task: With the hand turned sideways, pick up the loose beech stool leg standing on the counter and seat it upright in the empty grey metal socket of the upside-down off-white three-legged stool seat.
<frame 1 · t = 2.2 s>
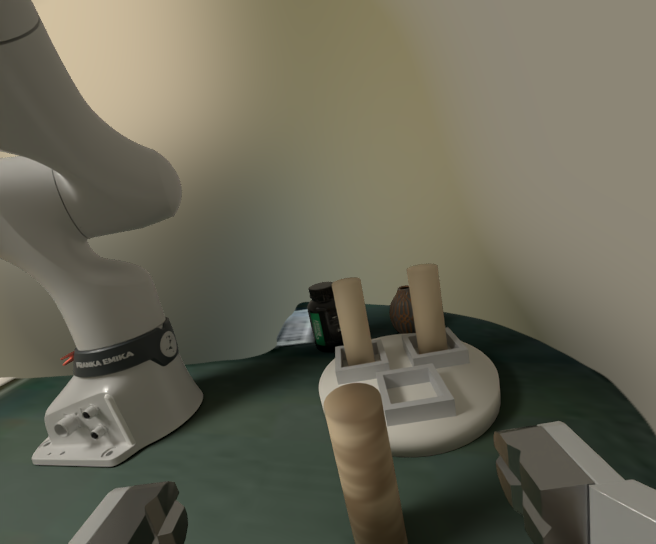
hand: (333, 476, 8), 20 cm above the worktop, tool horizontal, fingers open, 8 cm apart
supplement bottle: (333, 345, 59), on the worktop
stool seat: (404, 387, 42), on the worktop
vase: (411, 332, 58), on the worktop
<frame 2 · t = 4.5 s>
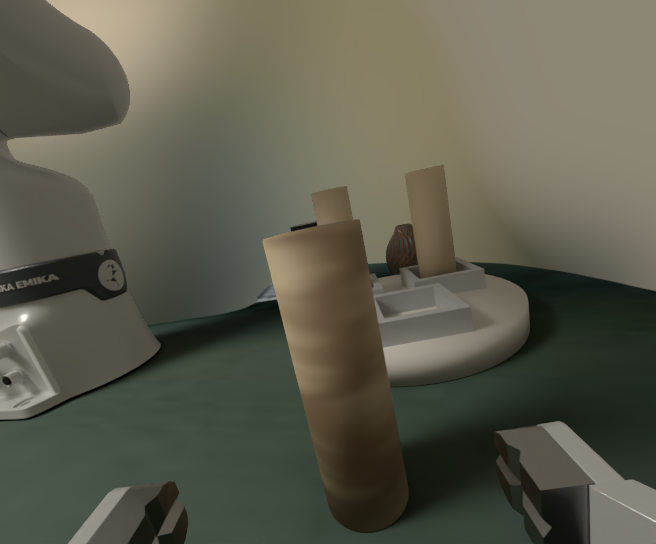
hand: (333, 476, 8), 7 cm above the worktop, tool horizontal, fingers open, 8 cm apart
stool seat: (403, 323, 33), on the worktop
vase: (411, 279, 50), on the worktop
stool leg: (367, 489, 15), on the worktop
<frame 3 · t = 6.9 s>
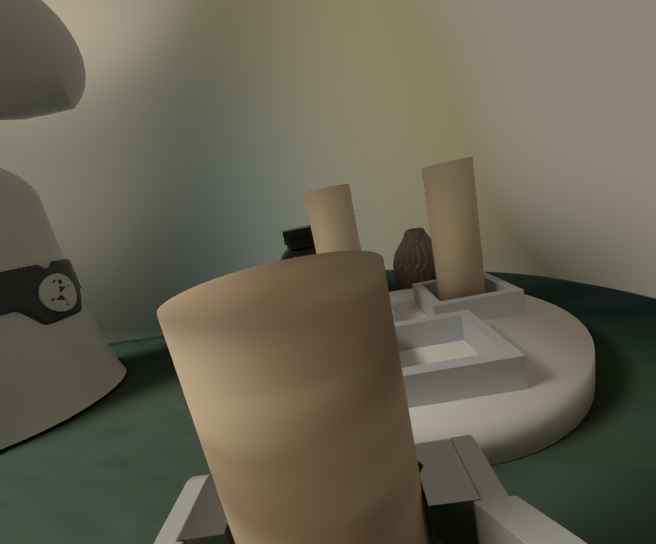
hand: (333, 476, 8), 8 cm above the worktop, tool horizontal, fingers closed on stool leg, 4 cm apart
supplement bottle: (318, 311, 44), on the worktop
stool seat: (419, 355, 27), on the worktop
vase: (422, 292, 43), on the worktop
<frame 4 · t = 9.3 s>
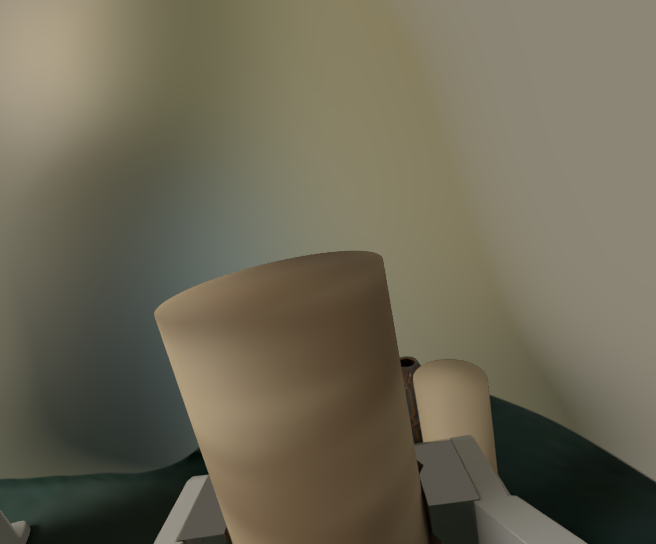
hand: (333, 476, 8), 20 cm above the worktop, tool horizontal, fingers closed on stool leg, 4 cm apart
vase: (417, 433, 34), on the worktop
when the fingers open (11 cm above the worktop, at t = 12.1 s): stool leg stays where it is, resting on stool seat.
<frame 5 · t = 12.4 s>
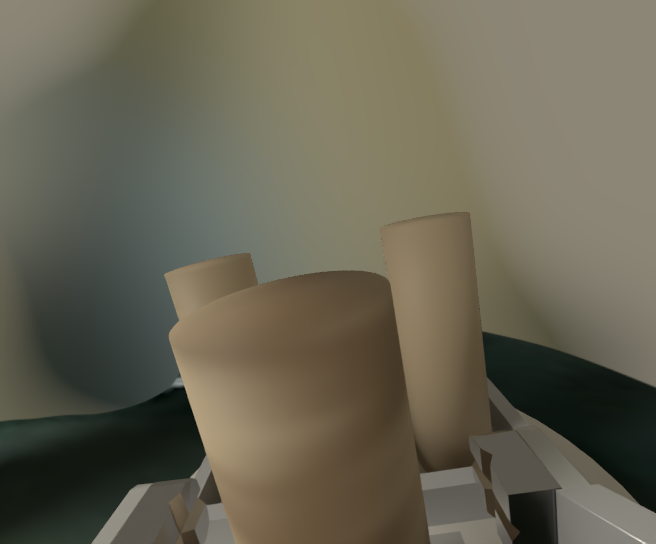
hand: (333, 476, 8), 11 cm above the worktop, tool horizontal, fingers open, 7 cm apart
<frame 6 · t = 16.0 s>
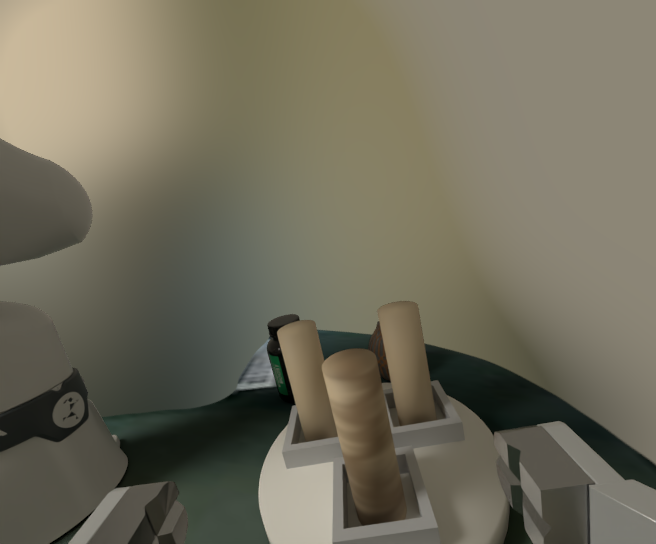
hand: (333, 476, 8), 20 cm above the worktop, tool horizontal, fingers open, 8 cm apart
supplement bottle: (301, 391, 48), on the worktop
stool seat: (377, 471, 31), on the worktop
vase: (395, 375, 47), on the worktop
stool leg: (381, 508, 24), point 3 cm above the worktop, touching stool seat
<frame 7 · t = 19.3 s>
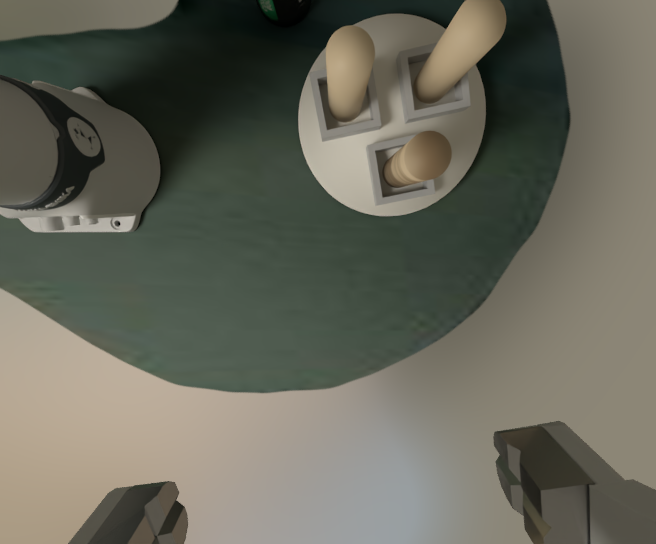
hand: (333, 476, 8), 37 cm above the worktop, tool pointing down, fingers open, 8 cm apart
stool seat: (387, 126, 40), on the worktop
stool leg: (397, 171, 39), point 3 cm above the worktop, touching stool seat
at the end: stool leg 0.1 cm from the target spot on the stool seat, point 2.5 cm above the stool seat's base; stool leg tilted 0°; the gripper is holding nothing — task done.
